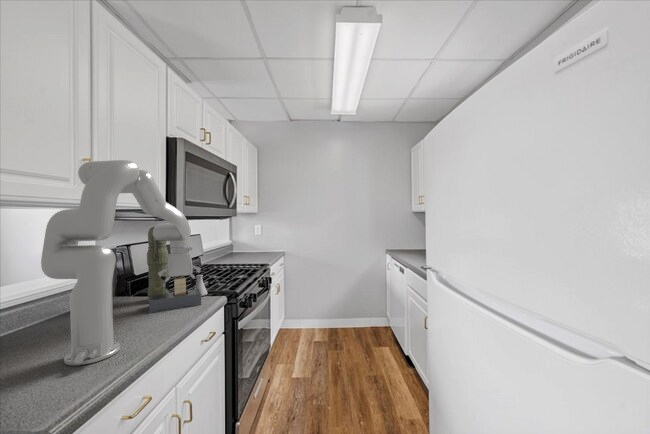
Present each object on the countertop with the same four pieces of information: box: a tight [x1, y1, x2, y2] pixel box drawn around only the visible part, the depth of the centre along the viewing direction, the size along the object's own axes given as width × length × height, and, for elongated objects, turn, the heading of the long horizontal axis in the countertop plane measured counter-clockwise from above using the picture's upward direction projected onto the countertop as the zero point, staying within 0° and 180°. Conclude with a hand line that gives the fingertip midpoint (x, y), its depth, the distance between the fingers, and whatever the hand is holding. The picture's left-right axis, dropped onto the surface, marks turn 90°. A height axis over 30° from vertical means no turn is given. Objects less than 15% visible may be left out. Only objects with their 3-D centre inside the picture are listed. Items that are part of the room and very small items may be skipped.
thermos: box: [146, 226, 170, 303], centre depth 139 cm, size 9×12×35 cm
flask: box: [193, 274, 208, 297], centre depth 145 cm, size 7×7×10 cm
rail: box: [148, 289, 202, 314], centre depth 129 cm, size 10×20×5 cm, turn 119°
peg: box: [173, 276, 187, 296], centre depth 130 cm, size 4×4×12 cm
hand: (180, 288), depth 130 cm, fingers open, 9 cm apart
